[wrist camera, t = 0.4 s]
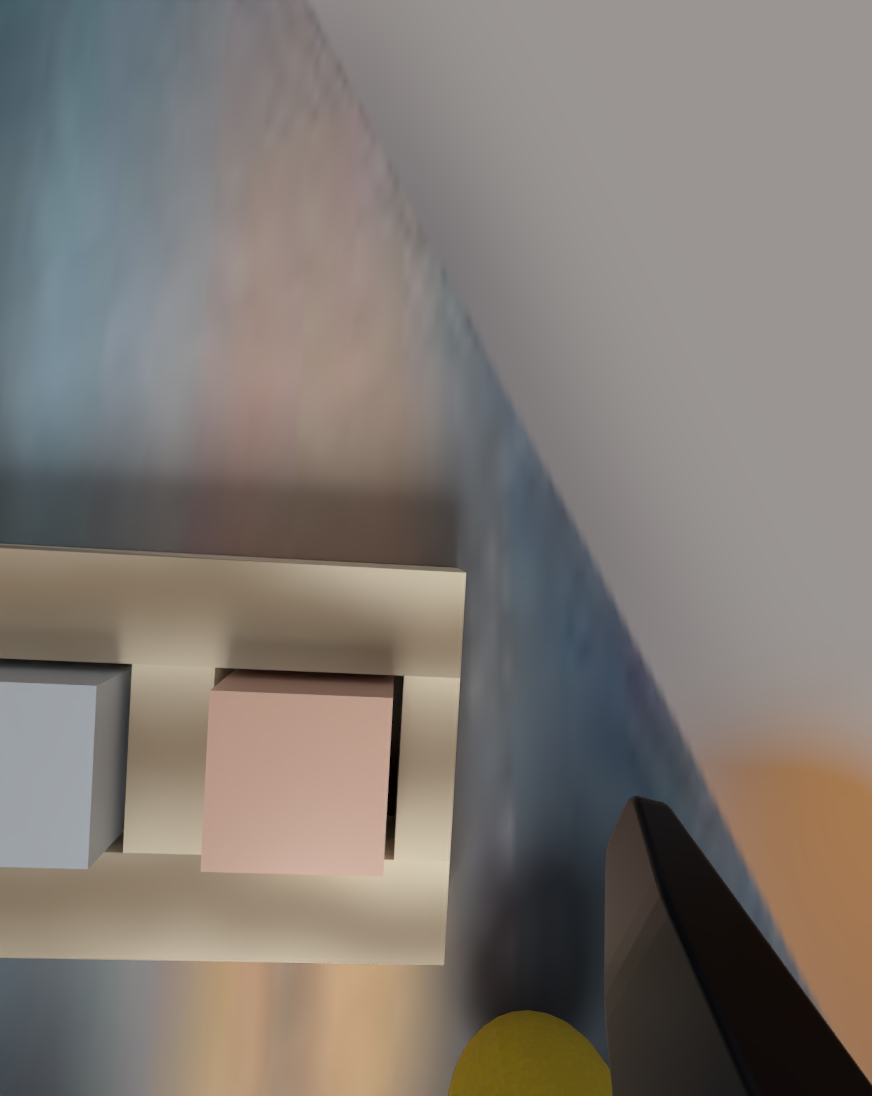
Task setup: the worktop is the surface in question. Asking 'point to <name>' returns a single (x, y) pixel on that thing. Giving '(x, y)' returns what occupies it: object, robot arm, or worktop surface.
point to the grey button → (62, 761)
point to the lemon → (530, 1060)
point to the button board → (181, 745)
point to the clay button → (297, 773)
